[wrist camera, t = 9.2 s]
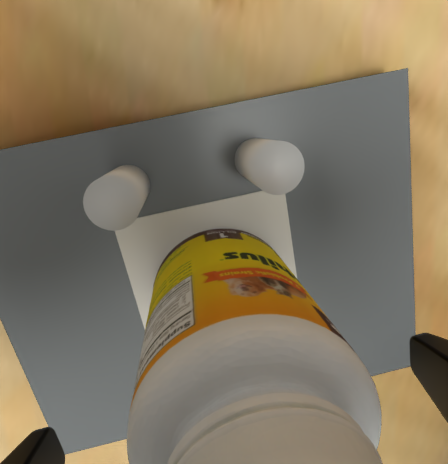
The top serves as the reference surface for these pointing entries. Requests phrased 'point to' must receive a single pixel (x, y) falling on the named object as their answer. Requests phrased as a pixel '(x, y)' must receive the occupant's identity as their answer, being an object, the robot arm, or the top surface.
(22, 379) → the top surface
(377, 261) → the pin tray
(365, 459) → the supplement bottle
